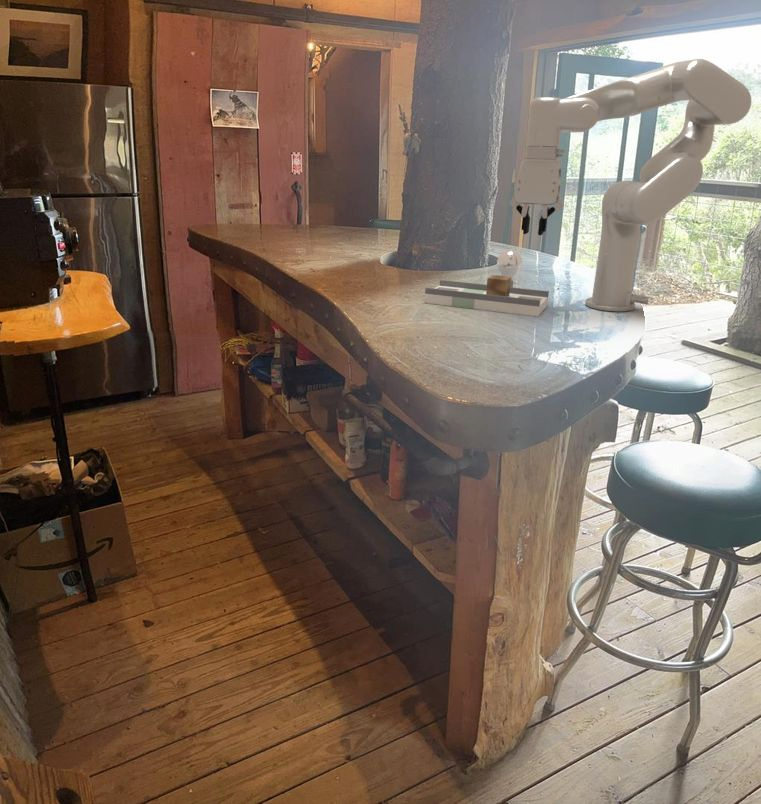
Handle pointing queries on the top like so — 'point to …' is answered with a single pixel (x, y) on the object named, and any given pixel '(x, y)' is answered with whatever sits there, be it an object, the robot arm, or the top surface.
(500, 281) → the walnut block
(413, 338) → the top surface
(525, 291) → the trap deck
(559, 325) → the top surface
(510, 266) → the light bulb
